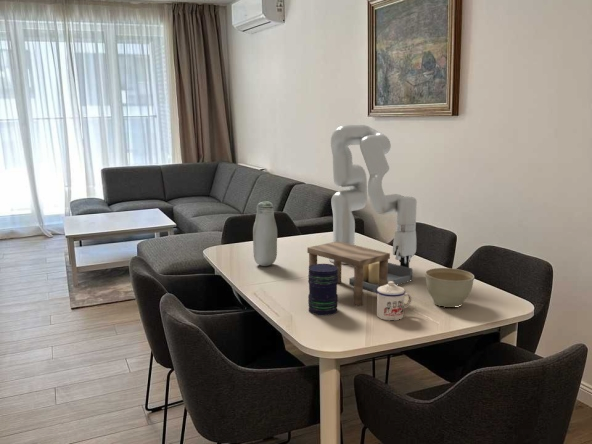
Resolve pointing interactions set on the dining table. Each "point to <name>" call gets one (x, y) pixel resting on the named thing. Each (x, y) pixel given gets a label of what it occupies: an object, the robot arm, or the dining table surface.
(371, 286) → the tray
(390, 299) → the teacup with lid
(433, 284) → the planter bowl
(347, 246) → the low table
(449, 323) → the dining table surface
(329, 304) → the storage jar
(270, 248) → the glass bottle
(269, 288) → the dining table surface
